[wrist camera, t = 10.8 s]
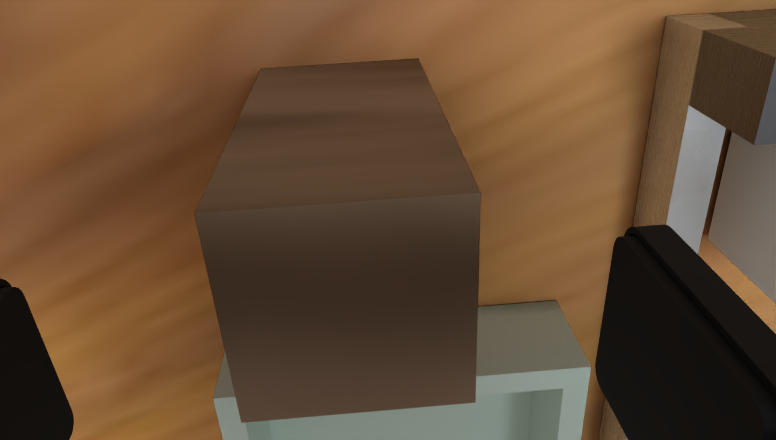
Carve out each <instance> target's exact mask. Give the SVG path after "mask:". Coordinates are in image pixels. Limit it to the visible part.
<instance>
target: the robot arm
mask: <svg viewBox="0 0 776 440" xmlns="http://www.w3.org/2000/svg"><path fill="white" fill-rule="evenodd" d="M595 367H596V376H597V380H598V383H599V386H600V388H601V390H602V392H603V393H604V395H605V397H606V399H607V401H608V403H609V405H610V407H611V409H612V410H613V412H614V414H615V416H616V418H617V420H618V422H619V424H620V426H621V427H622V429H623V431H624V433H625V435H626V437H627V439H628V440H776V334H775V333H774V332H773V331H772V330H771V329H770V328H769V327H768V326H767V325H766V324H765V323H764V322H763V321H762V320H761V319H760V318H759V317H758V316H757V315H756V314H755V313H754V312H753V311H752V310H751V309H750V307H749V306H748V305H747V304H746V303H745V302H744V301H743V300H742V299H741V298H740V297H739V296H738V295H737V294H736V293H735V292H734V291H733V290H732V289H731V288H730V287H729V286H728V285H727V284H726V283H725V282H724V281H723V280H722V279H721V278H720V277H719V276H718V275H717V274H716V273H715V272H714V271H713V270H712V269H711V268H710V267H709V266H708V265H707V264H706V263H705V262H704V260H703V259H702V258H701V257H700V256H699V255H698V254H697V253H696V252H695V251H694V250H693V249H692V248H691V247H690V246H689V245H688V244H687V243H686V242H685V241H684V240H683V239H682V238H681V237H680V236H679V235H678V234H677V233H676V232H675V231H674V230H673V229H672V228H671V227H670V226H668V225H664V224H662V225H649V226H637V227H630V228H628V229H627V231H626V233H625V235H624V237H618V238H617V239H616V241H615V243H614V248H613V254H612V260H611V267H610V273H609V280H608V286H607V293H606V299H605V306H604V312H603V319H602V325H601V331H600V338H599V344H598V351H597V357H596V366H595ZM73 424H74V419H73V413H72V410H71V407H70V405H69V402H68V400H67V398H66V395H65V393H64V390H63V388H62V386H61V383H60V381H59V378H58V376H57V373H56V371H55V369H54V366H53V364H52V361H51V359H50V357H49V354H48V352H47V349H46V347H45V345H44V342H43V340H42V337H41V335H40V332H39V330H38V328H37V325H36V323H35V320H34V318H33V316H32V313H31V311H30V308H29V306H28V304H27V301H26V299H25V296H24V294H23V293H22V291H21V290H20V289H19V288H17V287H11V285H10V284H9V283H8V282H7V281H6V280H3V279H0V440H69V439H70V437H71V434H72V431H73Z"/></svg>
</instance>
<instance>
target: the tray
mask: <svg viewBox="0 0 776 440" xmlns="http://www.w3.org/2000/svg"><path fill="white" fill-rule="evenodd" d="M590 371H591V366H590V364H589V362H588V360H587V358H586V356H585V354H584V352H583V350H582V349H581V347H580V345H579V343H578V341H577V339H576V337H575V335H574V333H573V331H572V330H571V328H570V326H569V324H568V322H567V320H566V318H565V316H564V314H563V313H562V311H561V309H560V307H559V305H558V303H557V301H543V302H531V303H518V304H506V305H493V306H481V307H478V323H477V363H476V402H475V403H466V404H454V405H443V406H431V407H419V408H408V409H396V410H385V411H373V412H361V413H350V414H338V415H326V416H315V417H303V418H292V419H280V420H268V421H257V422H245V423H241V420H240V415H239V411H238V407H237V402H236V398H235V393H234V389H233V384H232V380H231V375H230V371H229V366H228V362H227V357H226V353H224V357H223V361H222V365H221V369H220V373H219V377H218V381H217V385H216V389H215V393H214V397H213V401H214V405H215V409H216V413H217V417H218V421H219V425H220V429H221V433H222V437H223V440H581V435H582V428H583V421H584V414H585V407H586V399H587V392H588V385H589V378H590Z"/></svg>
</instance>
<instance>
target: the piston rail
mask: <svg viewBox="0 0 776 440" xmlns="http://www.w3.org/2000/svg"><path fill="white" fill-rule="evenodd" d="M726 128H727V129H728V130H730V131H732V132H733V133H735V134H737V135H738V136H740V137H742V138H743V139H745V140H746V141H748V142H750V143H751V144H753V145H764V144H776V9H771V10H755V11H740V12H724V13H708V14H693V15H677V16H667V17H666V23H665V29H664V36H663V42H662V48H661V54H660V61H659V67H658V73H657V79H656V85H655V92H654V98H653V104H652V110H651V117H650V123H649V129H648V135H647V141H646V148H645V154H644V160H643V166H642V173H641V179H640V185H639V191H638V197H637V204H636V210H635V216H634V222H633V227H637V226H649V225H662V224H664V225H668V226H670V227H671V228H672V229H673V230H674V231H675V232H676V233H677V234H678V235H679V236H680V237H681V238H682V239H683V240H684V241H685V242H686V243H687V244H688V245H689V246H690V247H691V248H692V249H693V250H694V251H695V252H696V253H697V254H698V251H699V247H700V242H701V238H702V233H703V229H704V224H705V220H706V215H707V211H708V206H709V202H710V197H711V193H712V188H713V184H714V180H715V175H716V171H717V166H718V162H719V157H720V153H721V148H722V144H723V139H724V135H725V130H726ZM599 440H628V439H627V437H626V435H625V433H624V431H623V429H622V427H621V426H620V424H619V422H618V420H617V418H616V416H615V414H614V412H613V410H612V409H611V407H610V405H609V403H608V401H607V399H606V397H605V403H604V409H603V415H602V421H601V428H600V434H599Z"/></svg>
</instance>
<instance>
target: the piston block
mask: <svg viewBox="0 0 776 440" xmlns="http://www.w3.org/2000/svg"><path fill="white" fill-rule="evenodd" d="M708 240H709V241H710V242H711V243H712V244H713V245H714V246H715V247H716V248H717V249H718V250H719V251H720V252H722V253H723V254H724V255H725V256H726V257H727V258H728V259H729V260H730V261H731V262H732V263H733V264H734V265H735V266H736V267H737V268H738V269H740V270H741V271H742V272H743V273H744V274H745V275H746V276H747V277H748V278H749V279H750V280H751V281H752V282H753V283H754V284H755V285H756V286H758V287H759V288H760V289H761V290H762V291H763V292H764V293H765V294H766V295H767V296H768V297H769V298H770V299H771V300H772V301H773V302H774V303H775V304H776V144H764V145H753V144H751V143H750V142H748V141H746V140H745V139H743V138H742V137H740V136H738V135H737V134H735V133H733V132H732V134H731V139H730V143H729V147H728V152H727V156H726V160H725V165H724V169H723V173H722V178H721V182H720V187H719V191H718V195H717V200H716V204H715V208H714V213H713V217H712V221H711V226H710V230H709V235H708Z"/></svg>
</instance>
